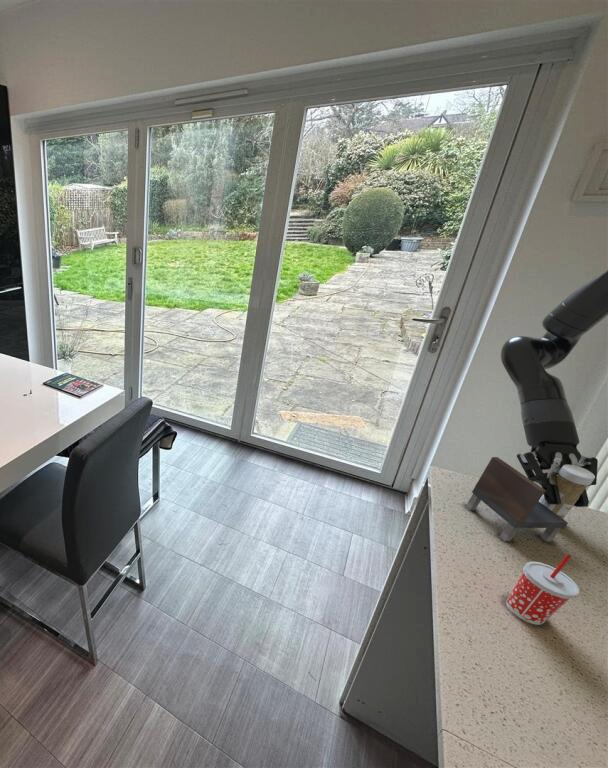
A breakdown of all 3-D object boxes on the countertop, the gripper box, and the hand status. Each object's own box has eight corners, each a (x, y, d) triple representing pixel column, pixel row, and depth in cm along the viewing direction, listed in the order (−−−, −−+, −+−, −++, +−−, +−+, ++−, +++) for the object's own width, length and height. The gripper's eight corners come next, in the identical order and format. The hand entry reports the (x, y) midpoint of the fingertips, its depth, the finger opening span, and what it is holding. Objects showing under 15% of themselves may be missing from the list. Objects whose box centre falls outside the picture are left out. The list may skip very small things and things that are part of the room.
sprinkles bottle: (562, 531, 85) (600, 481, 78) (532, 522, 87) (568, 472, 81) (554, 517, 88) (590, 468, 82) (526, 509, 90) (559, 460, 84)
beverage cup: (554, 620, 67) (604, 562, 61) (539, 638, 64) (591, 579, 58) (507, 591, 72) (549, 534, 65) (492, 606, 69) (534, 548, 63)
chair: (506, 508, 90) (539, 457, 84) (551, 544, 82) (592, 491, 75) (462, 507, 90) (492, 456, 84) (503, 544, 81) (539, 490, 75)
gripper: (528, 417, 85) (548, 501, 80) (603, 422, 84) (628, 508, 79) (497, 424, 92) (513, 502, 87) (566, 429, 91) (586, 509, 86)
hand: (567, 505), depth 83 cm, fingers closed on sprinkles bottle, 4 cm apart
